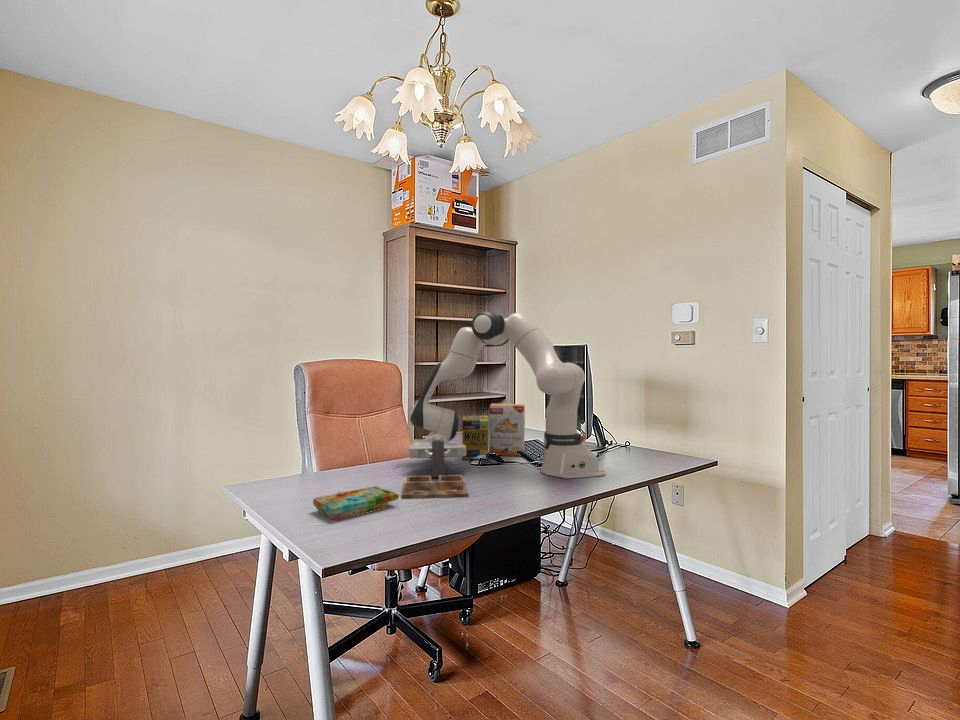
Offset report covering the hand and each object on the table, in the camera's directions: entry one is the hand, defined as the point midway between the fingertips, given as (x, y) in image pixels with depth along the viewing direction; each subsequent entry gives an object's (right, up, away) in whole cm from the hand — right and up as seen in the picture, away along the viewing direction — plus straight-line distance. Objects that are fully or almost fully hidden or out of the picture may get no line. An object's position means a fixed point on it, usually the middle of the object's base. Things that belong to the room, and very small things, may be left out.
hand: (438, 455), depth 182 cm
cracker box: (+25, -7, +38) cm, 46 cm away
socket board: (0, -8, -15) cm, 17 cm away
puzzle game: (-20, -10, -33) cm, 40 cm away
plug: (0, -7, +1) cm, 7 cm away
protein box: (+12, -7, +36) cm, 39 cm away
